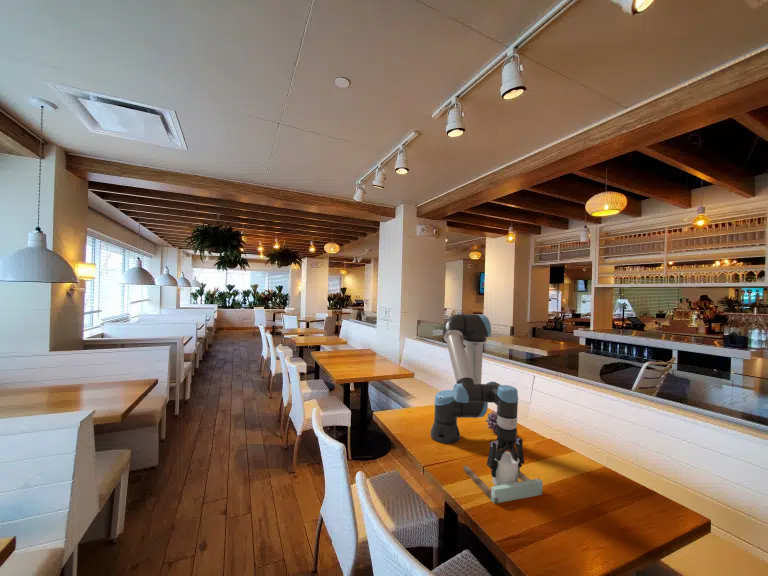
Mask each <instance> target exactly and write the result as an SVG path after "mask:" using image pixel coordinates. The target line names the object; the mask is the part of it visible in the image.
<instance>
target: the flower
mask: <svg viewBox="0 0 768 576" xmlns="http://www.w3.org/2000/svg"><path fill="white" fill-rule="evenodd" d="M485 422H487V423H486V425H487V426H488V427H487V429H488V430H489V429H490V430H491V431H492V433H496V434H497V425H498V424H497V411H496V412H495V410H492V412H490V413H487V419H485Z"/></svg>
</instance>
